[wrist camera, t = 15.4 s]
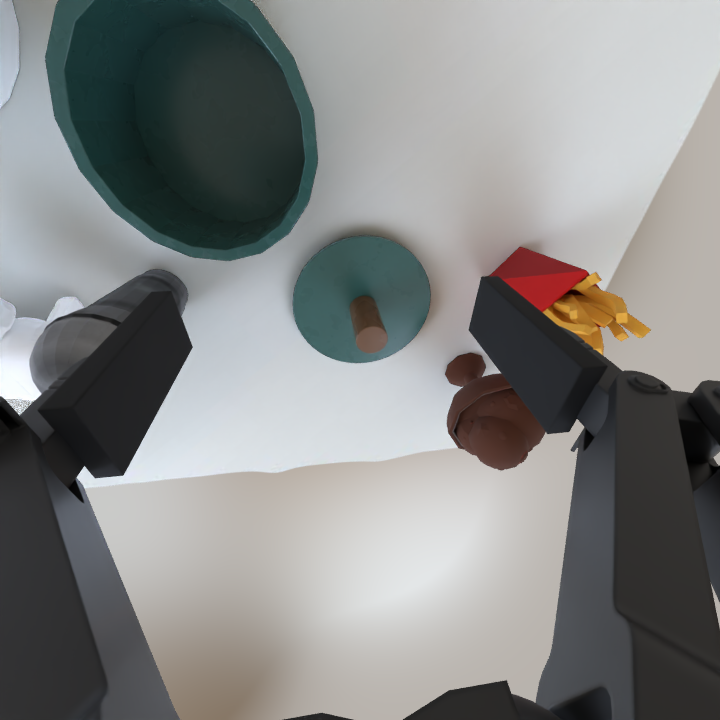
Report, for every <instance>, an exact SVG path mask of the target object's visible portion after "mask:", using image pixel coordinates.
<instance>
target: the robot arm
mask: <svg viewBox="0 0 720 720" xmlns="http://www.w3.org/2000/svg"><path fill="white" fill-rule="evenodd" d="M469 331H470V332H471V334H472V335H473V336H474V338H475V339H476V340H477V342H478V343H479V344H480V346H481V347H482V348H483V350H484V351H485V352H486V354H487V355H488V356H489V358H490V359H491V360H492V361H493V363H494V364H495V365H496V367H497V368H498V369H499V371H500V372H501V373H502V375H503V376H504V377H505V379H506V380H507V381H508V383H509V384H510V385H511V387H512V388H513V389H514V390H515V392H516V393H517V394H518V396H519V397H520V398H521V400H522V401H523V402H524V404H525V405H526V406H527V408H528V409H529V410H530V412H531V413H532V414H533V415H534V417H535V418H536V419H537V421H538V422H539V423H540V425H541V426H542V427H543V429H544V430H545V431H546V432H547V434H552V433H563V432H569V431H570V430H571V428H572V426H573V425H574V423H575V421H576V419H578V420H579V421H580V422H581V423H582V424H583V426H584V429H583V431H582V432H581V434H580V435H579V437H578V439H577V440H576V442H575V443H574V445H573V447H572V449H571V451H573V452H574V451H575V450H576V448H578V454H577V461H576V469H575V476H574V484H573V491H572V500H571V507H570V515H569V522H568V530H567V538H566V545H565V553H564V561H563V568H562V575H561V583H560V591H559V598H558V606H557V614H556V622H555V629H554V637H553V644H552V649H551V653H550V656H549V659H548V661H547V663H546V665H545V668H544V670H543V672H542V675H541V679H540V682H539V687H538V692H537V697H536V703H534V702H533V701H530V700H528V699H525V698H522V697H520V696H517V695H513V694H511V691H510V688H509V686H508V683H507V681H500V682H494V683H489V684H484V685H477V686H472V687H466V688H460V689H455V690H449V691H447V692H446V693H444V694H443V695H441V696H439V697H438V698H436V699H435V700H433V701H432V702H430V703H429V704H427V705H425V706H424V707H422V708H420V709H419V710H417V711H416V712H414V713H413V714H411V715H410V716H408V717H406V718H405V719H403V720H720V628H719V623H718V618H717V613H716V608H715V603H714V598H713V593H712V588H711V584H712V586H713V588H714V591H715V593H716V595H717V597H718V599H719V602H720V466H718V464H717V463H716V461H715V460H714V458H713V457H714V456H716V455H717V454H718V453H719V452H720V381H711V380H707V381H703V382H701V383H700V384H699V386H698V387H697V388H696V389H695V390H694V392H693V393H688V392H679V391H672V390H671V389H670V387H669V386H667V385H666V384H665V383H664V382H663V381H661V380H659V379H657V378H655V377H653V376H651V375H648V374H645V373H642V372H637V371H622V370H620V369H619V368H618V367H617V366H616V365H614V364H613V363H612V362H611V361H609V360H608V359H607V358H606V357H604V356H603V355H602V354H600V353H599V352H598V351H597V350H593V347H592V346H590V345H589V344H588V343H585V341H584V340H583V339H582V338H580V337H579V336H578V335H577V334H575V333H574V332H572V331H570V330H567V329H565V328H563V327H561V326H558V325H557V324H556V323H555V322H553V321H552V320H551V319H550V318H549V317H547V316H546V315H545V314H544V313H542V312H541V311H540V310H539V309H538V308H536V307H535V306H534V305H533V304H531V303H530V302H529V301H528V300H527V299H525V298H524V297H523V296H522V295H520V294H519V293H518V292H517V291H516V290H514V289H513V288H512V287H511V286H509V285H508V284H507V283H506V282H505V281H503V280H502V279H501V278H500V277H498V276H487V277H481V281H480V285H479V289H478V293H477V297H476V301H475V306H474V310H473V314H472V318H471V322H470V326H469ZM192 348H193V347H192V344H191V341H190V339H189V336H188V333H187V331H186V328H185V325H184V323H183V320H182V318H181V315H180V312H179V310H178V307H177V304H176V302H175V299H174V296H173V294H172V291H156V292H151V293H150V294H149V295H148V296H147V297H146V298H145V299H144V300H143V301H142V302H141V303H140V304H139V305H138V306H137V307H136V308H135V309H134V310H133V311H132V312H131V313H130V314H129V315H128V316H127V318H126V319H125V320H124V321H123V322H122V323H121V324H120V325H119V326H118V327H117V328H116V329H115V330H114V331H113V332H112V333H111V334H110V335H109V336H108V337H107V338H106V339H105V340H104V341H103V342H102V343H101V344H100V345H99V346H98V348H97V349H96V350H95V351H94V352H93V353H92V354H91V355H90V356H89V357H84V358H83V359H81V360H80V361H78V362H76V363H75V364H73V365H71V366H70V367H68V368H67V369H66V370H65V371H64V372H63V373H62V374H61V375H60V376H59V377H58V378H57V379H58V380H55V381H54V382H53V383H52V384H51V385H50V386H49V387H48V390H45V391H44V392H43V393H42V394H41V395H40V396H39V397H38V398H37V399H36V400H35V401H34V402H33V403H32V404H31V405H30V406H29V407H28V408H27V409H26V410H25V411H24V412H23V413H22V414H21V415H20V416H19V415H18V413H17V412H16V411H15V410H14V409H13V408H12V407H11V406H10V405H9V404H8V403H7V401H6V400H5V399H4V398H3V397H2V396H0V720H180V718H179V717H178V715H177V713H176V711H175V709H174V707H173V704H172V702H171V699H170V697H169V694H168V692H167V690H166V687H165V685H164V682H163V680H162V677H161V675H160V672H159V670H158V668H157V665H156V663H155V660H154V658H153V655H152V653H151V651H150V648H149V646H148V643H147V641H146V638H145V636H144V633H143V631H142V629H141V626H140V624H139V621H138V619H137V616H136V614H135V611H134V609H133V607H132V604H131V602H130V600H129V597H128V594H127V592H126V589H125V587H124V585H123V582H122V580H121V577H120V575H119V572H118V570H117V568H116V565H115V563H114V560H113V558H112V555H111V553H110V550H109V548H108V546H107V543H106V541H105V538H104V536H103V533H102V531H101V529H100V526H99V524H98V521H97V519H96V516H95V514H94V511H93V509H92V506H91V504H90V502H89V499H88V497H87V494H86V492H85V489H84V487H83V485H82V484H81V483H80V481H79V480H78V479H77V478H76V477H77V476H78V474H79V473H80V471H81V470H82V468H83V467H84V466H85V467H86V468H87V469H88V471H89V472H90V473H91V474H92V475H93V476H94V478H102V477H112V476H123V475H124V473H125V472H126V470H127V468H128V466H129V464H130V462H131V460H132V459H133V457H134V455H135V453H136V451H137V449H138V448H139V446H140V444H141V442H142V440H143V438H144V436H145V435H146V433H147V431H148V429H149V427H150V425H151V423H152V422H153V420H154V418H155V416H156V414H157V412H158V410H159V409H160V407H161V405H162V403H163V401H164V399H165V398H166V396H167V394H168V392H169V390H170V388H171V386H172V385H173V383H174V381H175V379H176V377H177V375H178V373H179V372H180V370H181V368H182V366H183V364H184V362H185V360H186V359H187V357H188V355H189V353H190V351H191V349H192ZM284 720H352V719H348V718H343V717H338V716H334V715H329V714H325V713H319V714H312V715H307V716H301V717H296V718H290V719H284Z"/></svg>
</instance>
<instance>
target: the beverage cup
mask: <svg viewBox="0 0 720 720" xmlns="http://www.w3.org/2000/svg"><path fill="white" fill-rule="evenodd" d="M156 291H172V294H173V296H174V299H175V302H176V304H177V307H178V310H179V312H180V315H181V316H182V314H183V311H184V309H185V305H186V303H187V300H188V293H187V289H186V287H185V285H184V284H183V282H182V281H181V280H180V279H179V278H178V277H176V276H175V275H173V274H171V273H170V272H166V271H163V270H150V271H147V272H145V273H144V274H142V275H139V276H137V277H135V278H134V279H132V280H130V281H129V282H127V283H125V284H124V285H122V286H121V287H119V288H117V289H116V290H114V291H112V292H111V293H109V294H108V295H106V296H104V297H103V298H101V299H99V300H98V301H96V302H95V303H93V304H91V305H90V306H88V307H86V308H82V309H79V310H77V311H74V312H72V313H69V314H67V315H65V316H61V317H58V318H56V319H55V320H54V321H52V322H51V323H50V324H49V325H47V326H46V328H45V329H44V332H43V333H42V334H41V335H40V336H39V338H38V339H37V341H36V343H35V345H34V348H33V350H32V353H31V356H30V359H29V366H30V372H31V377H32V380H33V382H34V384H35V385H36V387H37V388H38V390H39V391H40V393H41V394H42V393H43V392H44V391H45V390H48V387H49V386H50V385H51V384H52V383H53V382H54V381H55V380H58V379H57V378H58V377H59V376H60V375H61V374H62V373H63V372H64V371H65V370H66V369H67V368H68V367H70V366H71V365H73V364H75V363H76V362H78V361H80V360H81V359H83V358H84V357H89V356H90V355H91V354H92V353H93V352H94V351H95V350H96V349H97V348H98V346H99V345H100V344H101V343H102V342H103V341H104V340H105V339H106V338H107V337H108V336H109V335H110V334H111V333H112V332H113V331H114V330H115V329H116V328H117V327H118V326H119V325H120V324H121V323H122V322H123V321H124V320H125V319H126V318H127V316H128V315H129V314H130V313H131V312H132V311H133V310H134V309H135V308H136V307H137V306H138V305H139V304H140V303H141V302H142V301H143V300H144V299H145V298H146V297H147V296H148V295H149V294H150V293H151V292H156Z"/></svg>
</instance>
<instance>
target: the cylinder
mask: <svg viewBox="0 0 720 720" xmlns="http://www.w3.org/2000/svg"><path fill="white" fill-rule="evenodd" d="M19 69H20V66H19V26H18V22H17V18H16V14H15V10H14V6H13V2H12V0H0V108H1V107H2V106H3V105H4V104H5V103H6V102H7V101H8V100H9V99H10V96H11V93H12V90H13V87H14V84H15V81H16V78H17V75H18V72H19Z"/></svg>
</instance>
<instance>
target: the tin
mask: <svg viewBox="0 0 720 720" xmlns="http://www.w3.org/2000/svg"><path fill="white" fill-rule="evenodd" d="M45 59H46V60H45V62H46V68H47V74H48V80H49V86H50V93H51V99H52V105H53V111H54V116H55V120H56V122H57V124H58V126H59V128H60V130H61V132H62V134H63V137H64V139H65V141H66V143H67V145H68V147H69V149H70V151H71V153H72V156H73V158H74V160H75V162H76V164H77V166H78V168H79V170H80V172H81V173H82V174H83V175H84V176H85V178H86V179H87V180H88V181H89V182H90V184H91V185H92V186H93V187H94V189H95V190H96V191H97V192H98V193H99V195H100V196H101V197H102V198H103V200H104V201H105V202H106V203H107V204H108V206H109V207H110V208H111V209H112V211H113V212H115V213H116V214H117V215H119V216H120V217H121V218H122V219H124V220H125V221H126V222H128V223H129V224H130V225H132V226H133V227H134V228H136V229H137V230H138V231H140V232H141V233H142V234H144V235H145V236H146V237H148V238H149V239H150V240H152V241H154V242H156V243H158V244H161V245H163V246H166V247H168V248H170V249H173V250H175V251H178V252H180V253H182V254H185V255H187V256H190V257H194V258H204V259H213V260H223V261H231V260H236V259H240V258H244V257H248V256H252V255H256V254H260V253H263V252H264V251H266V250H267V249H268V248H270V247H271V246H273V245H274V244H275V243H277V242H278V241H280V240H281V239H282V238H284V237H285V236H287V235H288V234H289V233H290V232H291V230H292V229H293V227H294V225H295V224H296V222H297V221H298V219H299V218H300V216H301V214H302V213H303V211H304V210H305V208H306V207H307V205H308V202H309V200H310V196H311V191H312V187H313V183H314V178H315V174H316V169H317V165H318V153H317V142H316V130H315V118H314V110H313V108H312V105H311V102H310V100H309V97H308V94H307V92H306V89H305V86H304V84H303V81H302V78H301V76H300V73H299V70H298V68H297V65H296V62H295V60H294V57H293V56H292V54H291V53H290V51H289V50H288V49H287V47H286V46H285V44H284V43H283V42H282V40H281V39H280V38H279V36H278V35H277V33H276V32H275V31H274V29H273V28H272V27H271V25H270V24H269V22H268V21H267V20H266V18H265V17H264V16H263V14H262V13H261V11H260V10H259V9H258V7H257V6H255V4H254V3H253V2H252V1H250V0H59V1H58V2H57V4H56V7H55V12H54V17H53V22H52V27H51V31H50V36H49V41H48V46H47V51H46V56H45Z"/></svg>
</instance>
